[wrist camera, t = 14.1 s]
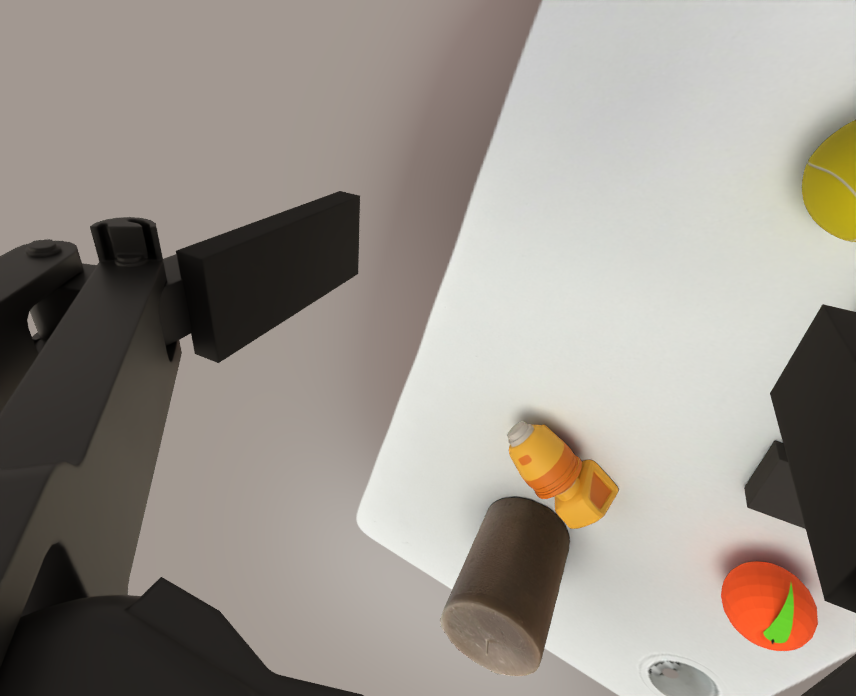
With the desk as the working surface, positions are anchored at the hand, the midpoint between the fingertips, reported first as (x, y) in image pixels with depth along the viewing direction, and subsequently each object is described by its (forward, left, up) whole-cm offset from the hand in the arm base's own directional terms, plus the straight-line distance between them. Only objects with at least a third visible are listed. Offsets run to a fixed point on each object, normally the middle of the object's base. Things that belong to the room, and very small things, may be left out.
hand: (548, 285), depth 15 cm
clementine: (+32, +22, -26) cm, 47 cm away
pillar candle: (+40, +1, -26) cm, 48 cm away
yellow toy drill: (+28, +2, -26) cm, 38 cm away
